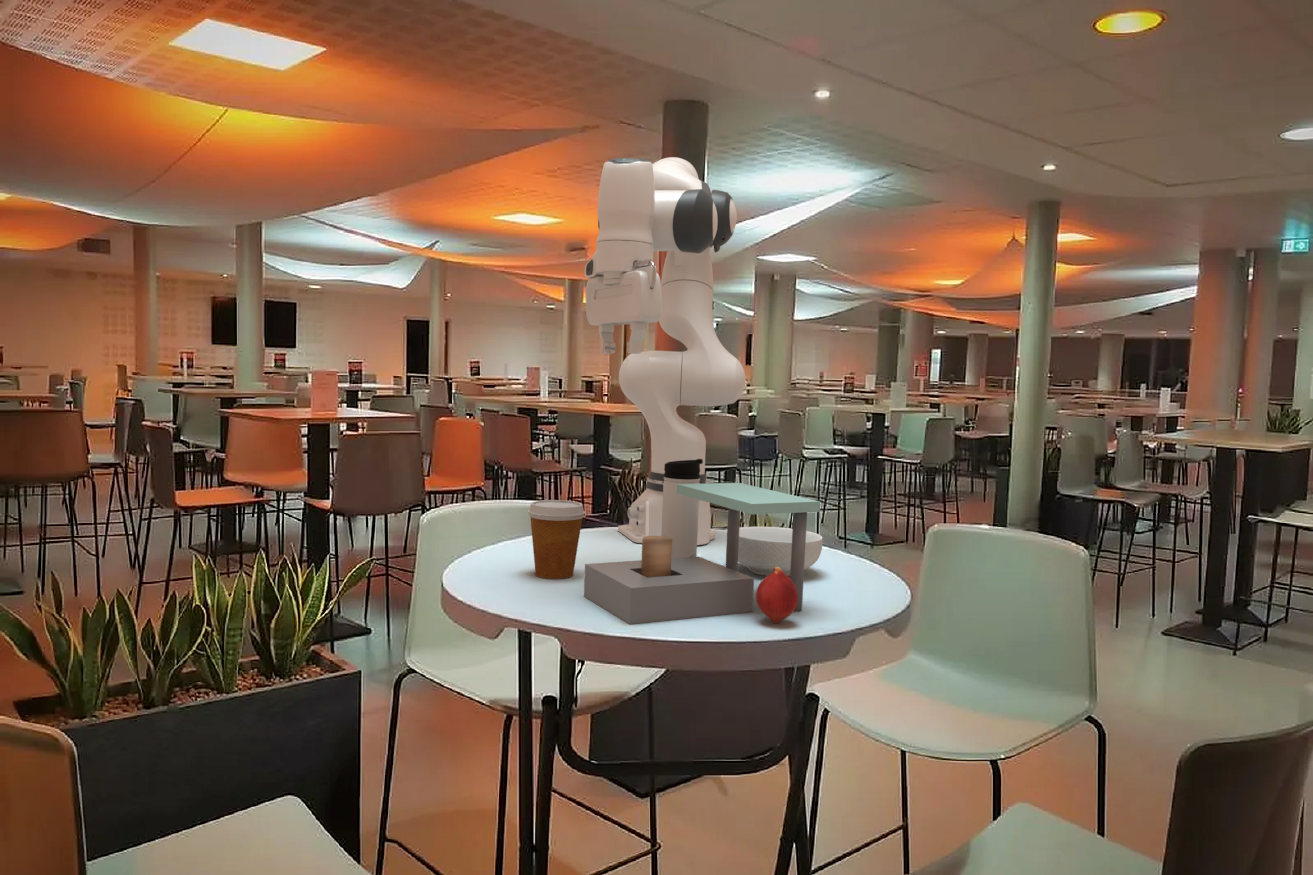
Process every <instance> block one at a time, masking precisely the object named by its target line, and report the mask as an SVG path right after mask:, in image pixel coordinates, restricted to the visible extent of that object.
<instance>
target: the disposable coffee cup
mask: <svg viewBox="0 0 1313 875" xmlns="http://www.w3.org/2000/svg"><path fill="white" fill-rule="evenodd" d="M529 506H530V507H529V509H528V510H527V513H528V516H529V518H530V527H531V528H530V529H531V539H532V550H533V552H532V553H533V560H534V572H535V576H537V577H539V578H543V579H550V580H551V579H552V580H559V579H568V577H569V578H571V577H573V576H574V573H575V572H574V571H575V564H576V559H577V553H578V548H579V547H578V546H579V540H580V533H581V528H582V521H583V518H584V515H585V514H586V511H585V510H584V505H583V503H581V502H577V501H573V500H565V499H564V500H560V499H558V500H557V499H544V500H543V499H542V500H536V501H531V502H530V505H529Z"/></svg>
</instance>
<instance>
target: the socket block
mask: <svg viewBox="0 0 1313 875" xmlns="http://www.w3.org/2000/svg"><path fill="white" fill-rule="evenodd" d="M641 562H642V559H641V560H628V561H627V560H626V561H612V562H611V561H609V562H595V563H594V562H593V563H584V584H583V597H584V598H586V599H588V600H589V601H591V602H592V603H595V604H596V605H597V606H599V607H600V608H602V609H604V610H605V611H607V612H609V613H610V614H612V615H614V616H616V617H617V618H618V619H620V620H622V621H623V622H625V623H626V624H628V625H635V624H644V623H645V624H647V623H655V622H664V621H666V622H667V621H674V620H675V621H676V620H683V619H694V618H695V619H696V618H703V617H713V616H722V615H723V616H725V615H736V614H743V613H745V614H746V613H752V612H753V606H754V605H753V603H754V602H753V601H754V582H755V578H754V577H752V576H749V575H746V574H745V573H742V572H739V571H738V570H737V571H734V570H732V569H729V568H727V567H726V566H724V565H721V564H720V563H716V562H714V561H711V560H708V559H705V558H704V557H701V556H696V557H685V558H671V576H663V577H649V578H647V577H645V576H643V575H641Z"/></svg>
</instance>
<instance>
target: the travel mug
mask: <svg viewBox="0 0 1313 875" xmlns="http://www.w3.org/2000/svg"><path fill="white" fill-rule="evenodd" d="M702 463H703V460H702V459H697V460H682V461H672V462H667V463H665V466H664V471H665V473H664V482H663V505H662V528H661V536H664V537H669V538H672V556H671V558H685V557H697V554H698V553H697V549H698V545H697V534H698V512H699V500H698V499H695V498H691V497H688V496H684V495H681V494H677V484H700V482H699V481H700V474H699V473H700V464H702Z"/></svg>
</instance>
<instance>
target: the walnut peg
mask: <svg viewBox="0 0 1313 875" xmlns="http://www.w3.org/2000/svg"><path fill="white" fill-rule="evenodd" d="M671 556H672V538H669V537H664V536H645V537H643V539H642V543H641V560H642V562H641V575H643V576H645V577H647V578H649V577H663V576H671Z"/></svg>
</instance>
